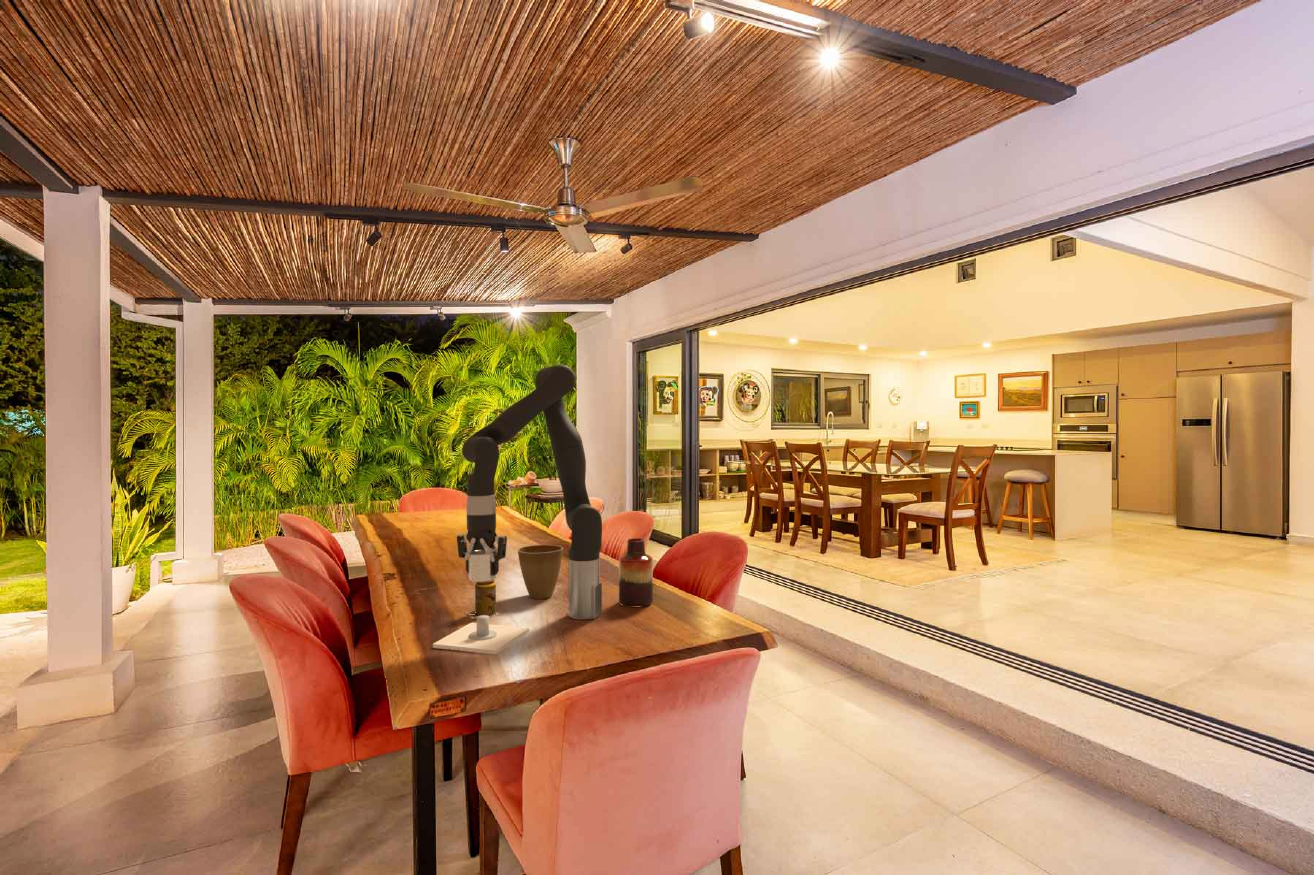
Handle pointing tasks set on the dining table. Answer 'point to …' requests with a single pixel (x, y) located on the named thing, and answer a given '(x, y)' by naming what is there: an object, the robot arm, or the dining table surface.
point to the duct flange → (481, 637)
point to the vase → (635, 575)
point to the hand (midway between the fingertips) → (482, 574)
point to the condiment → (484, 599)
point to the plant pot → (540, 569)
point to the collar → (480, 567)
